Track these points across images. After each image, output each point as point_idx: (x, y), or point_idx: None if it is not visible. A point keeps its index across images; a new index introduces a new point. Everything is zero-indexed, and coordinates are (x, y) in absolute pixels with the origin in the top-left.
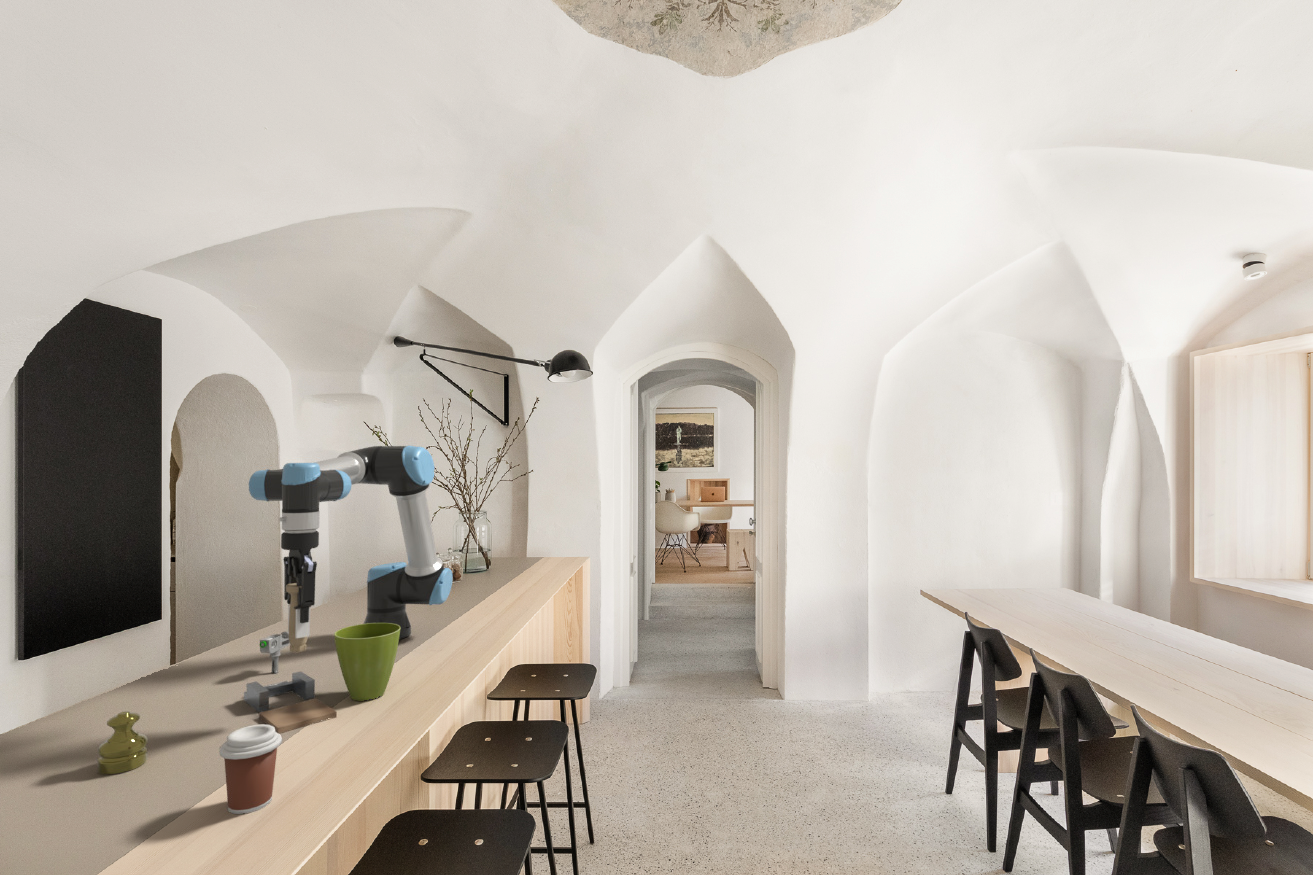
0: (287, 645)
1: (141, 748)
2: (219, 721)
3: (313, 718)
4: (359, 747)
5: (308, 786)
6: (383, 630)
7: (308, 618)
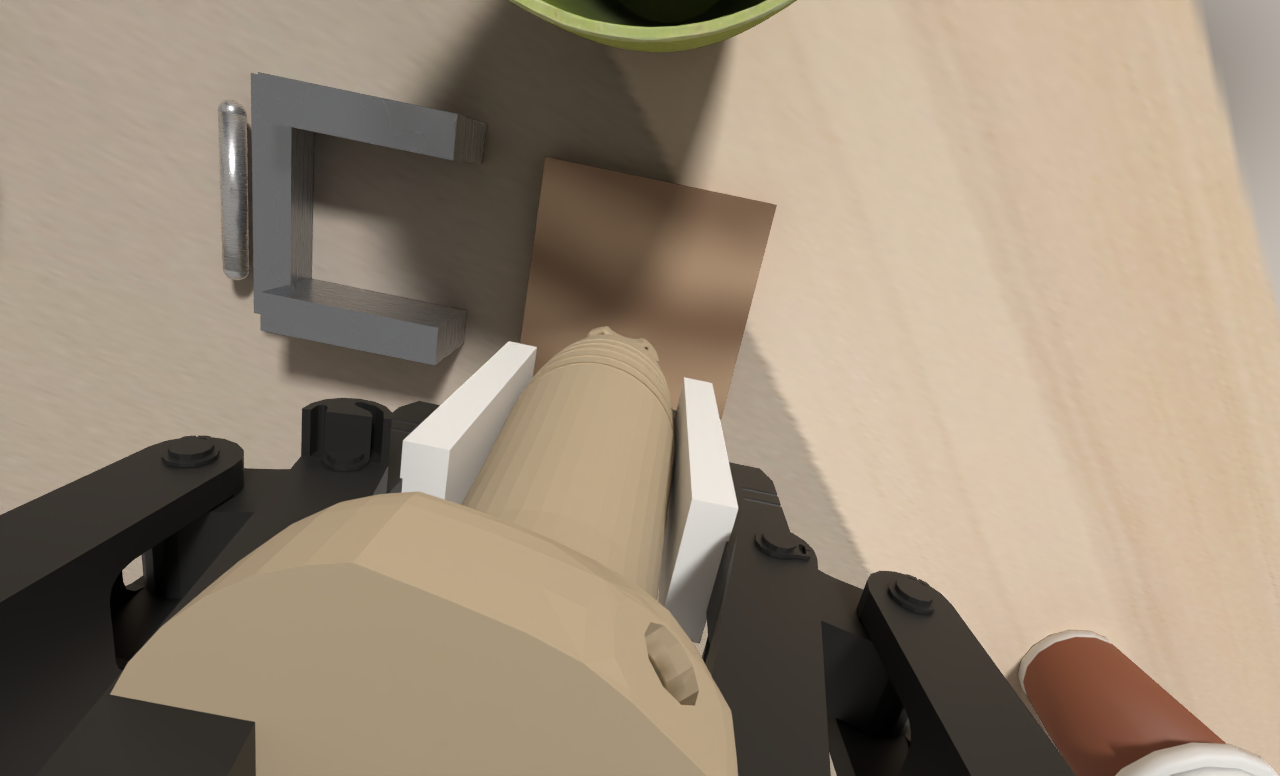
0: None
1: None
2: None
3: (751, 298)
4: (1096, 332)
5: (1145, 560)
6: None
7: (773, 491)
